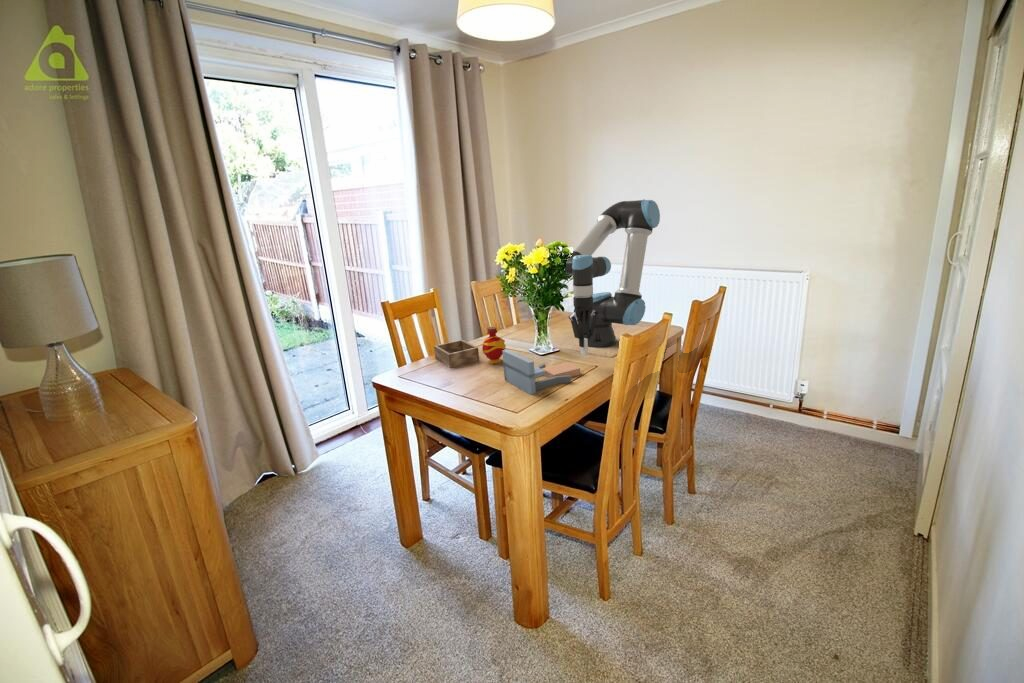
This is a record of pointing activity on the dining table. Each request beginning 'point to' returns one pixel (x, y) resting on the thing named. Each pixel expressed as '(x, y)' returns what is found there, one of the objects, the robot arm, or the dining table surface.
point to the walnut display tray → (456, 353)
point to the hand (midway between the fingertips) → (584, 354)
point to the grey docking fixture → (527, 373)
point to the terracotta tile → (562, 370)
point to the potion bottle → (493, 346)
